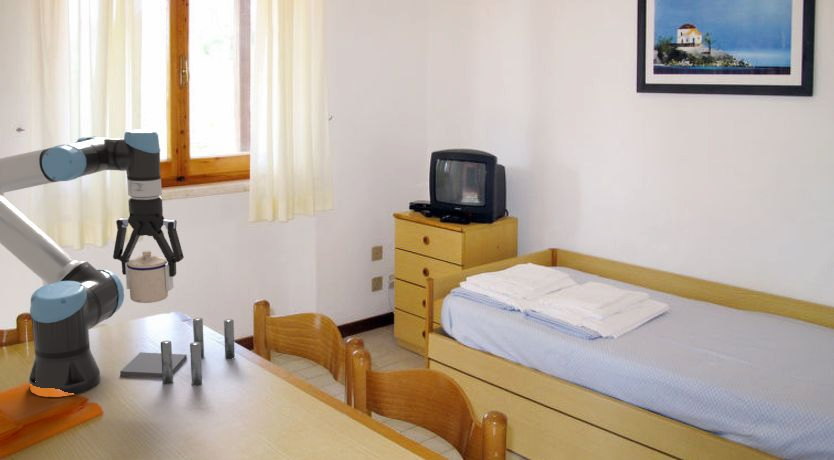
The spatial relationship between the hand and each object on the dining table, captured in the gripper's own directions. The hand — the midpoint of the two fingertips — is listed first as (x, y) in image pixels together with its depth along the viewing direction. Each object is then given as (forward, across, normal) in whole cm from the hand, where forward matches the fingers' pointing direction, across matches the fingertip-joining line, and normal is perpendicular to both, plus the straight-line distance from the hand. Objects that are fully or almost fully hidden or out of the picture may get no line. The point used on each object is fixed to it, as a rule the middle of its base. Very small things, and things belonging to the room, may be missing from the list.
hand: (150, 288), depth 190 cm
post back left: (+20, +8, +8) cm, 24 cm away
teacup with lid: (+2, -1, 0) cm, 3 cm away
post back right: (+20, +16, +8) cm, 28 cm away
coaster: (+20, 0, 0) cm, 20 cm away
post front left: (+20, +6, -8) cm, 23 cm away
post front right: (+20, +14, -8) cm, 26 cm away
